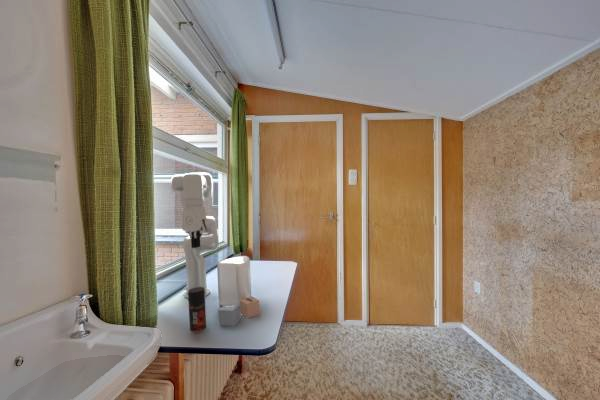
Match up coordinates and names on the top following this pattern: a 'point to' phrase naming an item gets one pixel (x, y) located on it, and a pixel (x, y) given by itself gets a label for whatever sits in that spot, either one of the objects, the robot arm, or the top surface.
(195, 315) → the deodorant
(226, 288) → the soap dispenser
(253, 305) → the terracotta block marked
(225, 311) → the slate block marked
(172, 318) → the top surface
